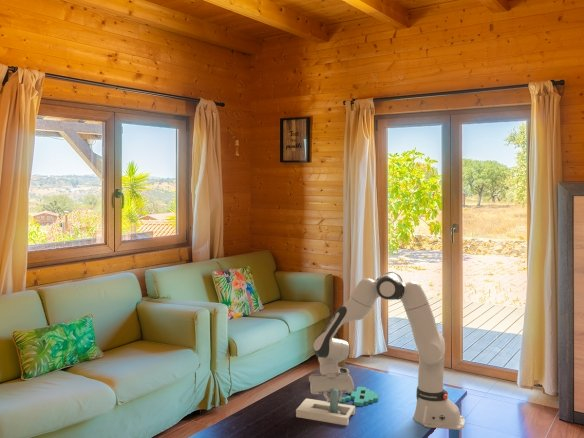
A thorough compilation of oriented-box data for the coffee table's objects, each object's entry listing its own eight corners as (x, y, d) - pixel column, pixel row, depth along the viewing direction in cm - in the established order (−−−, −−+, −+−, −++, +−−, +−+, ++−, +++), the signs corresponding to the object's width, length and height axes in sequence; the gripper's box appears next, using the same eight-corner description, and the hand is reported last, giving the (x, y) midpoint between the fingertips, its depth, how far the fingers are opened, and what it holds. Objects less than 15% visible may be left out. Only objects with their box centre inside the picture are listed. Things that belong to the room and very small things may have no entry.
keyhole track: (355, 413, 257) (355, 406, 257) (347, 425, 244) (347, 418, 244) (306, 405, 266) (306, 398, 265) (296, 416, 252) (296, 409, 252)
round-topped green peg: (341, 413, 255) (342, 388, 254) (338, 418, 250) (338, 393, 249) (329, 411, 257) (329, 386, 256) (325, 416, 252) (326, 391, 251)
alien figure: (335, 404, 268) (377, 408, 264) (335, 400, 268) (377, 404, 264) (340, 389, 287) (379, 392, 283) (340, 385, 287) (379, 388, 283)
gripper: (309, 371, 257) (313, 400, 248) (351, 369, 260) (357, 397, 252) (307, 377, 262) (311, 405, 253) (349, 375, 265) (354, 403, 256)
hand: (334, 401), depth 252 cm, fingers closed on round-topped green peg, 4 cm apart
